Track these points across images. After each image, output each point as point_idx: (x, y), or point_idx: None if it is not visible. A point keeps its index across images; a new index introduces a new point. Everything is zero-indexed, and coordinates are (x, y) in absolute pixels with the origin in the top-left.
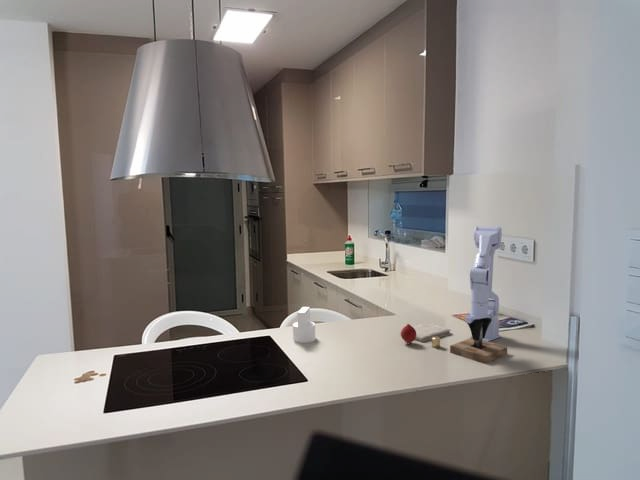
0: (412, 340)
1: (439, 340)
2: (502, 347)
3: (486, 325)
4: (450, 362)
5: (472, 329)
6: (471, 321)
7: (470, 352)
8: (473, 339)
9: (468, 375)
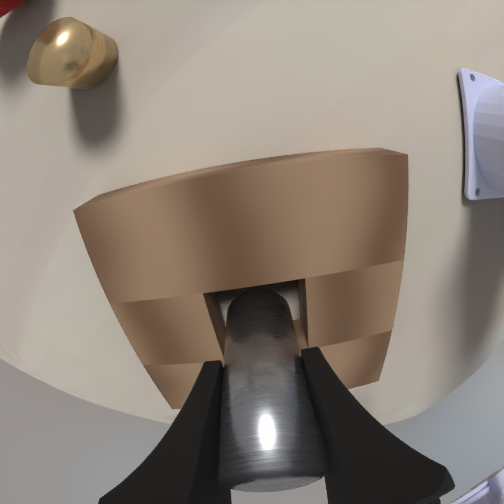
0: (3, 15)
1: (64, 80)
2: (357, 379)
3: (327, 492)
4: (45, 300)
5: (186, 446)
6: None
7: (137, 351)
8: (205, 366)
9: (69, 387)
